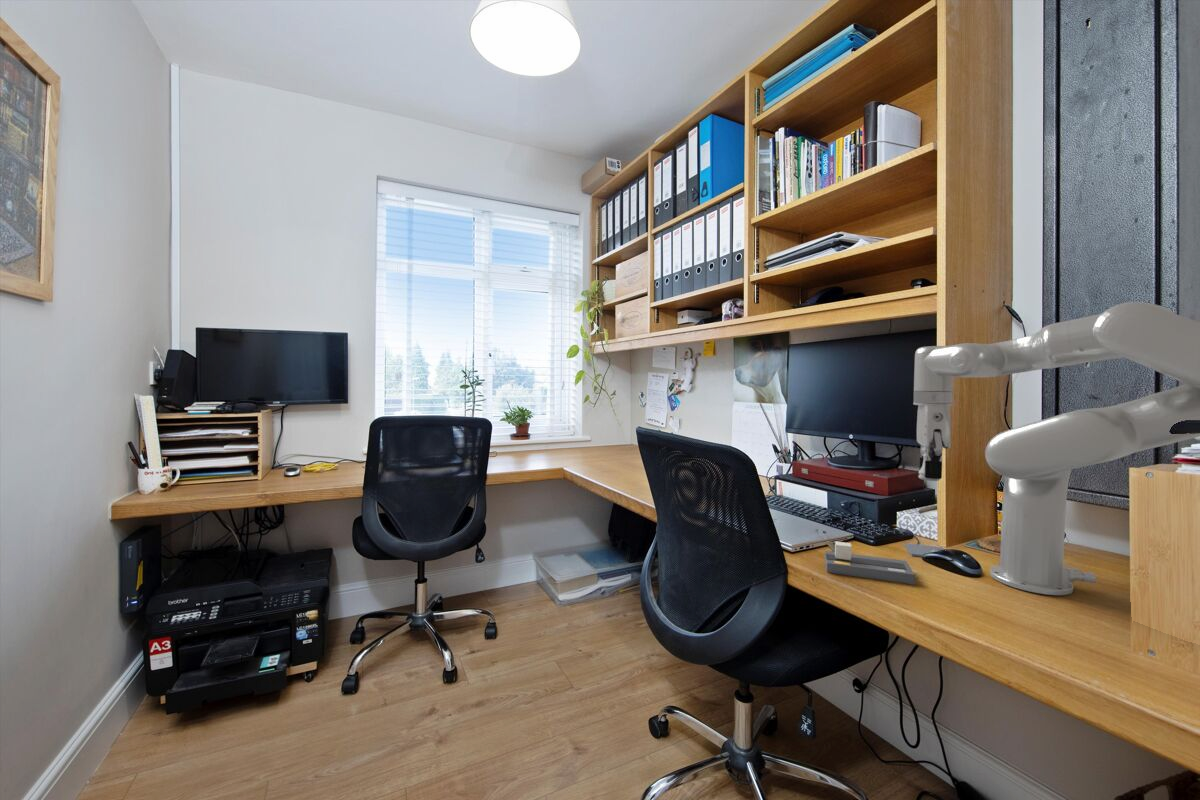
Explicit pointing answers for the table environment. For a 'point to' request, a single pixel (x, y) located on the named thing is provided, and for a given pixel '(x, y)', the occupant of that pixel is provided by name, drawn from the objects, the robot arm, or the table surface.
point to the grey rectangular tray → (870, 567)
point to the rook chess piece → (922, 471)
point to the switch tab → (843, 550)
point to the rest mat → (919, 549)
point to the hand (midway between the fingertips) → (930, 475)
